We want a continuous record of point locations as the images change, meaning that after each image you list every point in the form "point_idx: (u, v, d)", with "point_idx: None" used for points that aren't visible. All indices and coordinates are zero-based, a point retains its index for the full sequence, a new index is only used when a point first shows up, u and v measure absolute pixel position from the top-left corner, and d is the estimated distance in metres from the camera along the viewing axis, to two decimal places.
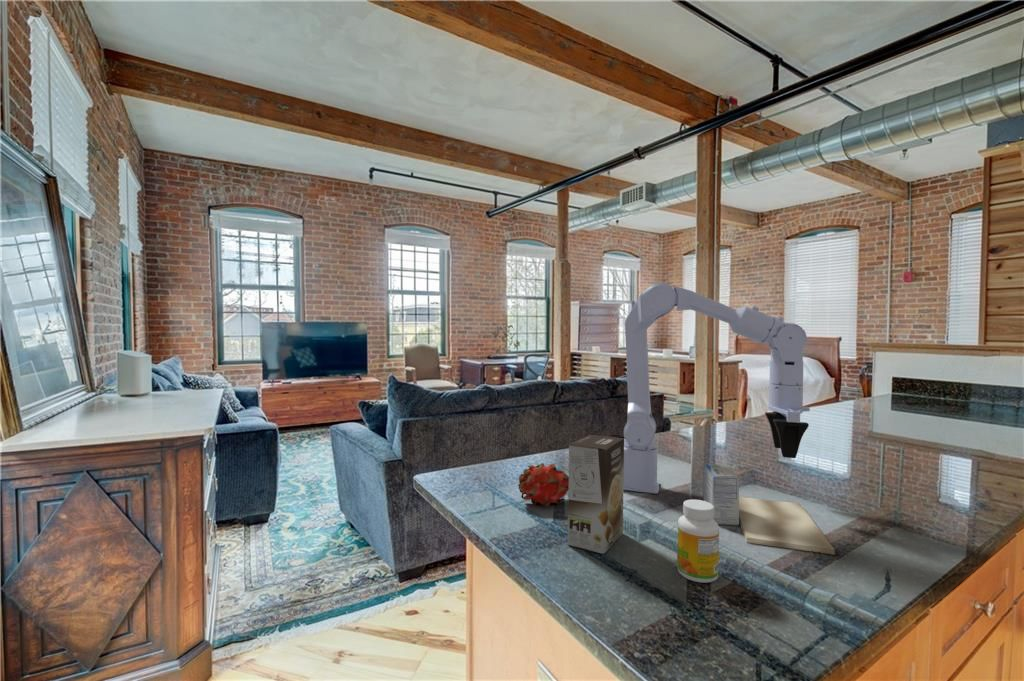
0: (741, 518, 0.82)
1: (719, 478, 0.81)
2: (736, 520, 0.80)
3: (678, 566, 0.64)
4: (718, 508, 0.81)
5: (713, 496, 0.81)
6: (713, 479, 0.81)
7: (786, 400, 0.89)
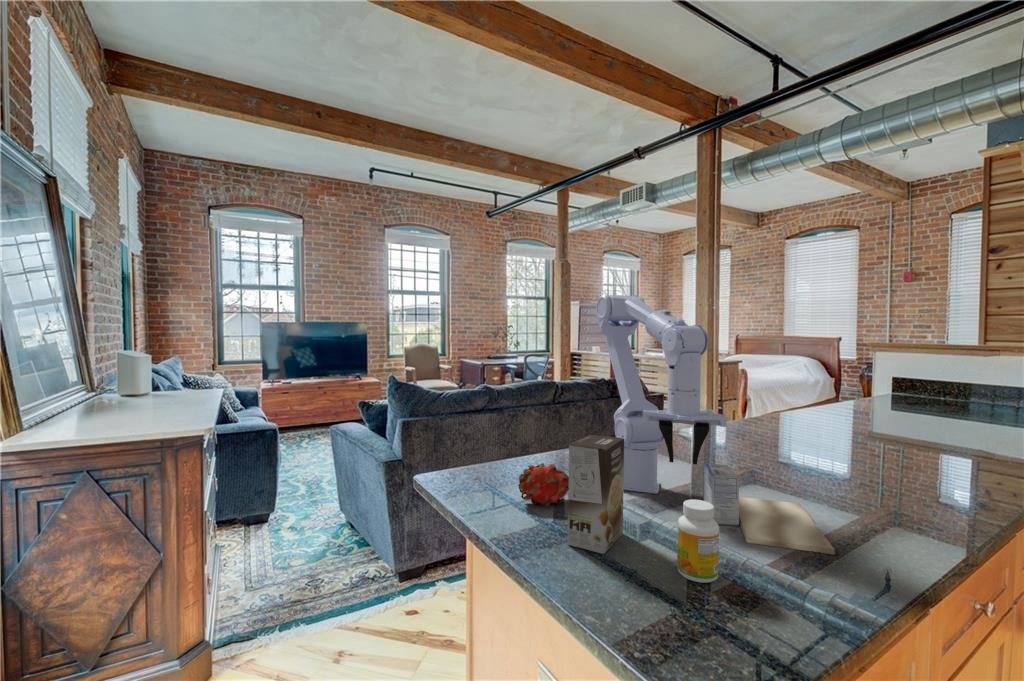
0: (741, 518, 0.82)
1: (719, 478, 0.81)
2: (736, 520, 0.80)
3: (678, 566, 0.64)
4: (718, 508, 0.81)
5: (713, 496, 0.81)
6: (713, 479, 0.81)
7: None
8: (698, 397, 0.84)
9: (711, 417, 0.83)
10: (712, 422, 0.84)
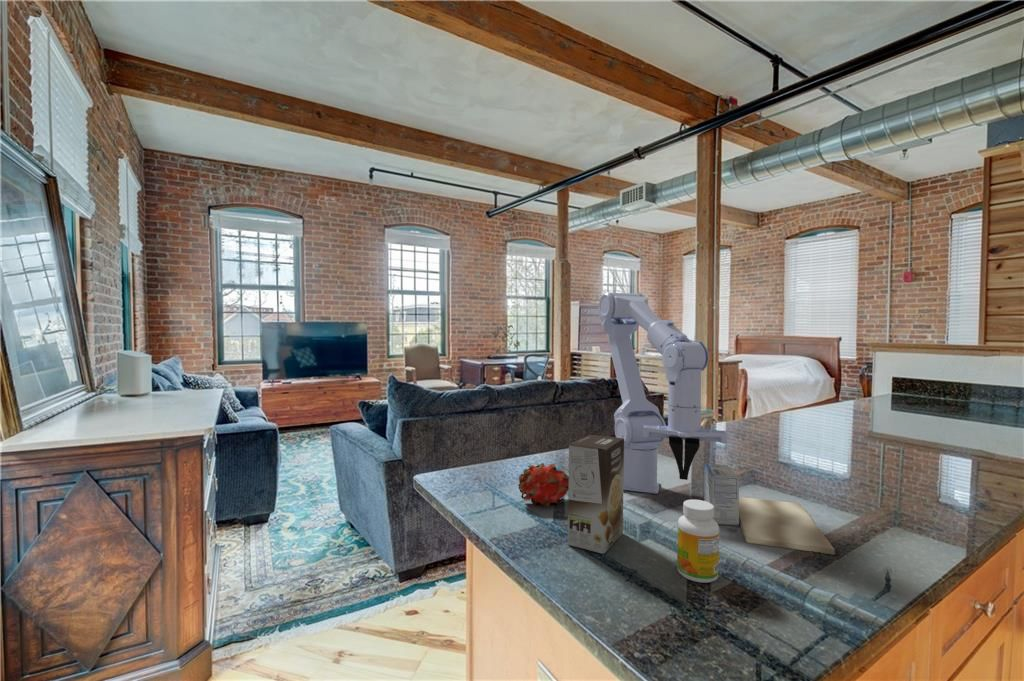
0: (741, 518, 0.82)
1: (719, 478, 0.81)
2: (736, 520, 0.80)
3: (678, 566, 0.64)
4: (718, 508, 0.81)
5: (713, 496, 0.81)
6: (713, 479, 0.81)
7: None
8: (698, 413, 0.84)
9: (711, 434, 0.83)
10: (712, 438, 0.84)
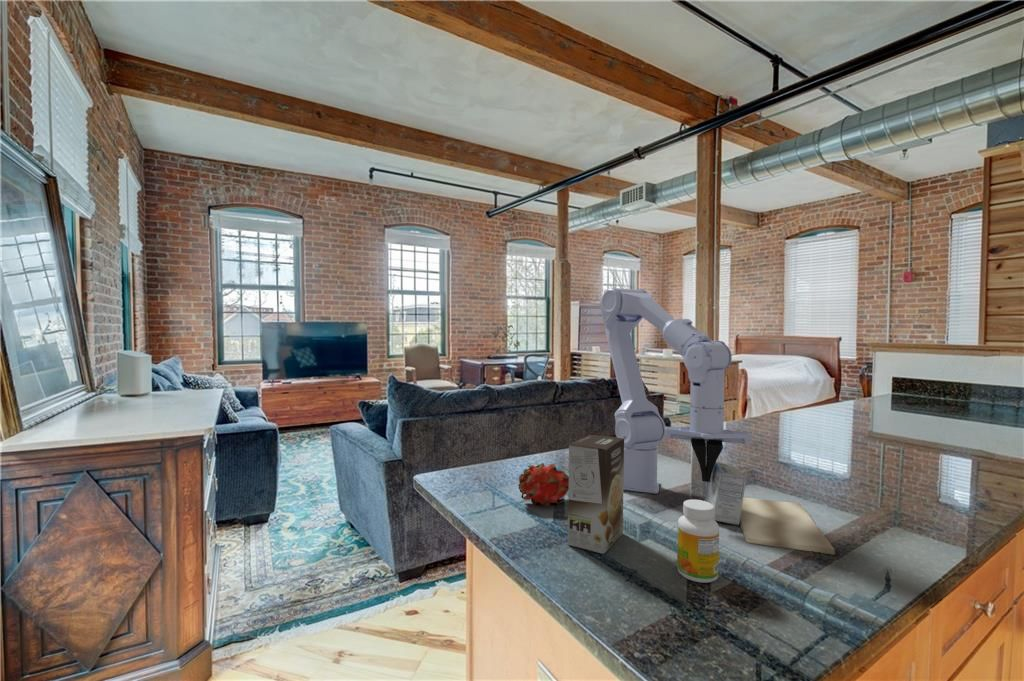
0: (741, 518, 0.82)
1: (727, 476, 0.80)
2: (737, 520, 0.80)
3: (678, 566, 0.64)
4: (721, 505, 0.81)
5: (718, 493, 0.81)
6: (720, 476, 0.81)
7: None
8: (722, 415, 0.83)
9: (735, 435, 0.82)
10: (736, 440, 0.83)
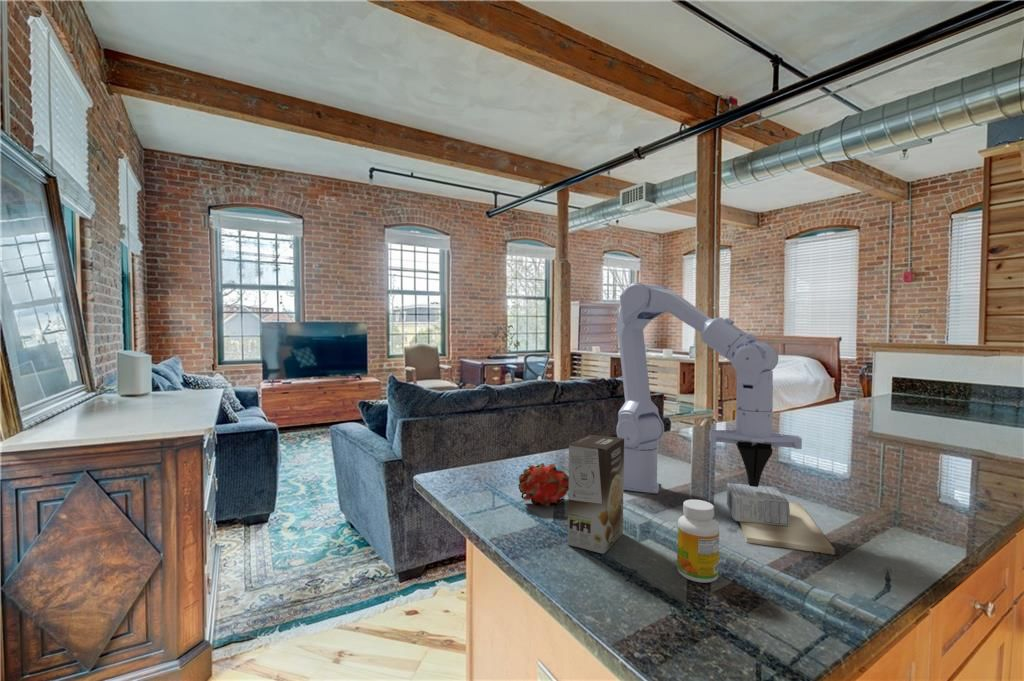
0: None
1: (787, 508, 0.78)
2: (740, 519, 0.80)
3: (678, 566, 0.64)
4: (752, 503, 0.80)
5: (765, 500, 0.79)
6: (785, 501, 0.78)
7: (736, 424, 0.84)
8: (771, 418, 0.80)
9: (785, 439, 0.79)
10: (785, 444, 0.81)
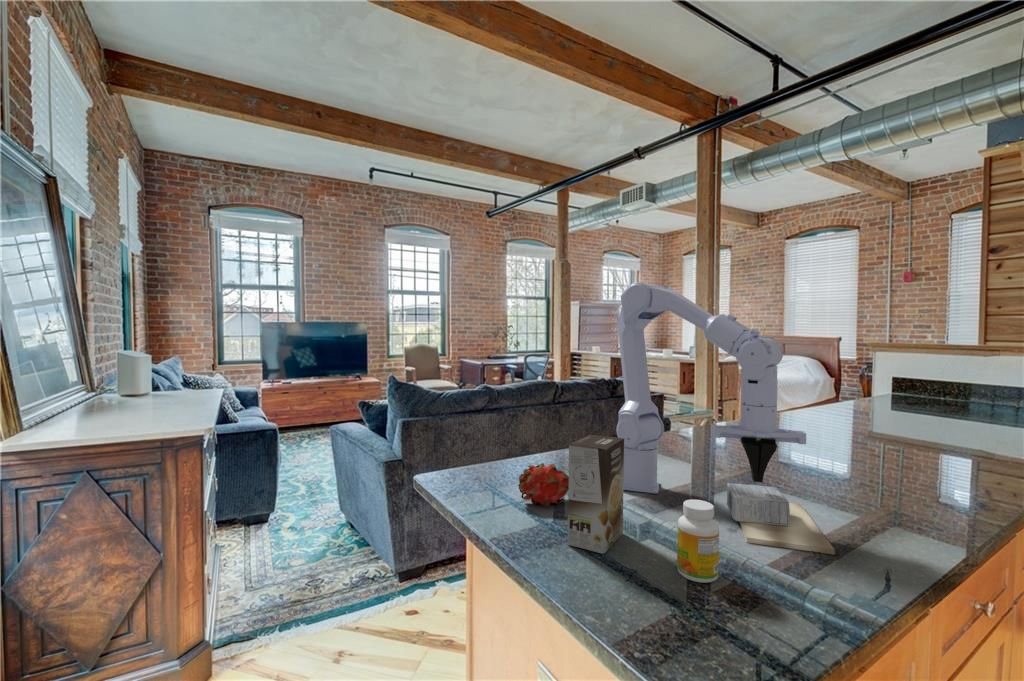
0: None
1: (787, 508, 0.78)
2: (740, 519, 0.80)
3: (678, 566, 0.64)
4: (752, 503, 0.80)
5: (765, 500, 0.79)
6: (785, 501, 0.78)
7: (740, 419, 0.83)
8: (775, 413, 0.80)
9: (790, 434, 0.79)
10: (790, 439, 0.80)
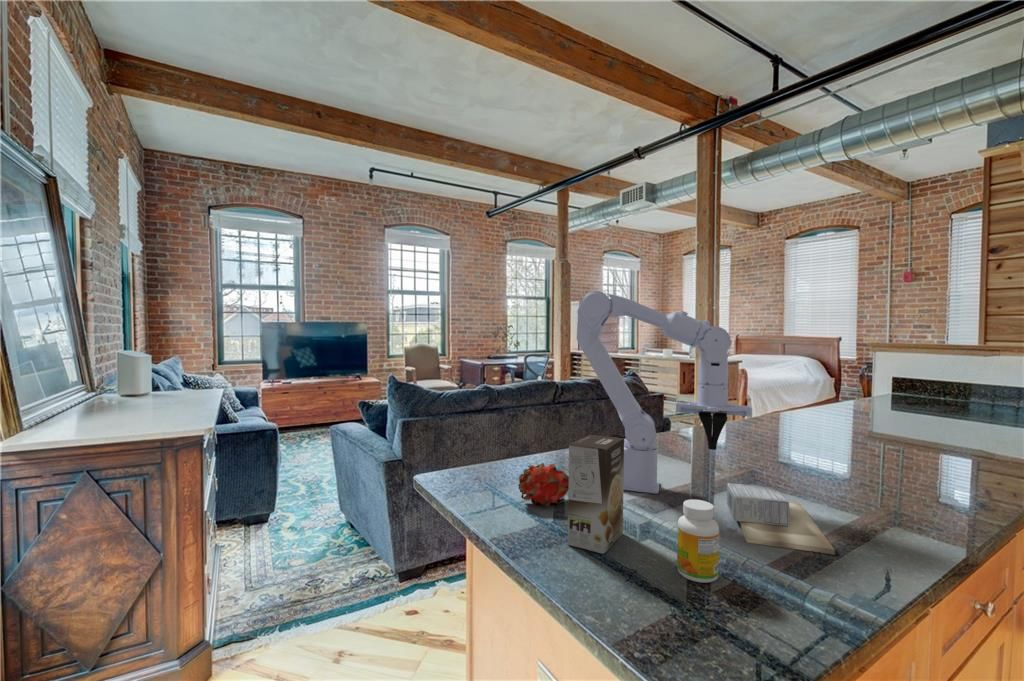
0: None
1: (787, 508, 0.78)
2: (740, 519, 0.80)
3: (678, 566, 0.64)
4: (752, 503, 0.80)
5: (765, 500, 0.79)
6: (785, 501, 0.78)
7: None
8: (726, 390, 0.94)
9: (738, 408, 0.94)
10: (738, 413, 0.95)
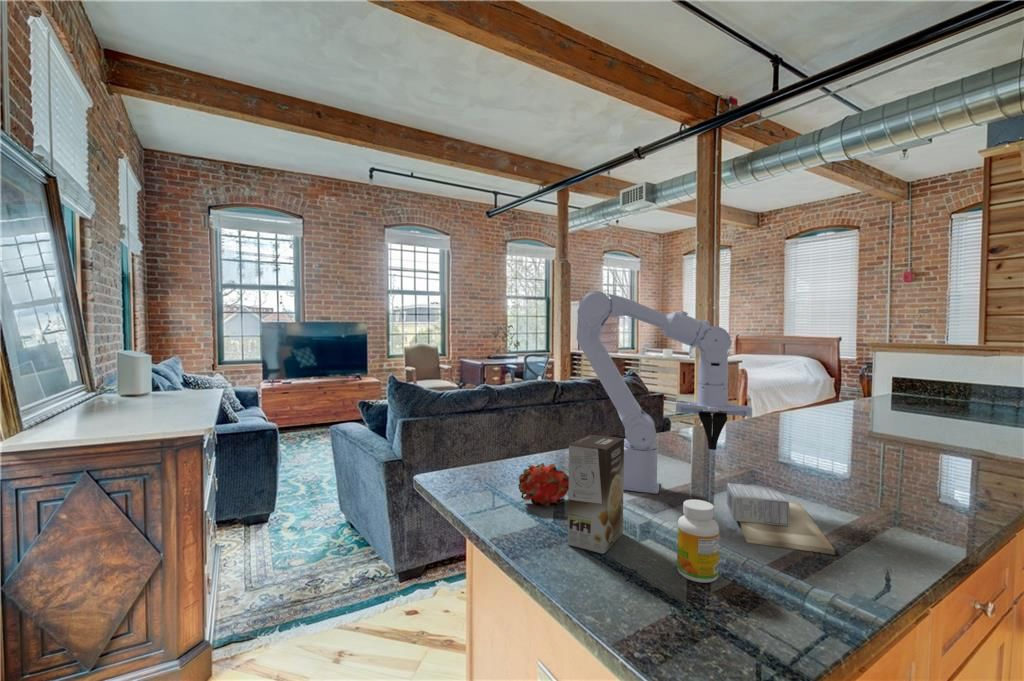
0: None
1: (787, 508, 0.78)
2: (740, 519, 0.80)
3: (678, 566, 0.64)
4: (752, 503, 0.80)
5: (765, 500, 0.79)
6: (785, 501, 0.78)
7: None
8: (726, 390, 0.94)
9: (738, 408, 0.94)
10: (738, 413, 0.95)
